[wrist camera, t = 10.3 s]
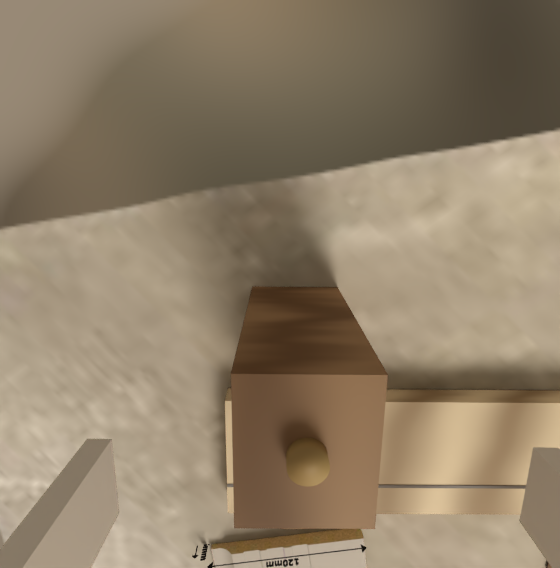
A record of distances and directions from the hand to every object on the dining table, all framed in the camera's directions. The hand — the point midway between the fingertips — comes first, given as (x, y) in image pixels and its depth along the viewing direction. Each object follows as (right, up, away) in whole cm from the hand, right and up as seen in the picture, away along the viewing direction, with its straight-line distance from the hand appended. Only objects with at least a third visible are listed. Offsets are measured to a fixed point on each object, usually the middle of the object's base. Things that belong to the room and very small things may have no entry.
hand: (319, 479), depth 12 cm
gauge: (0, -1, +12) cm, 13 cm away
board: (+6, -4, +13) cm, 15 cm away
